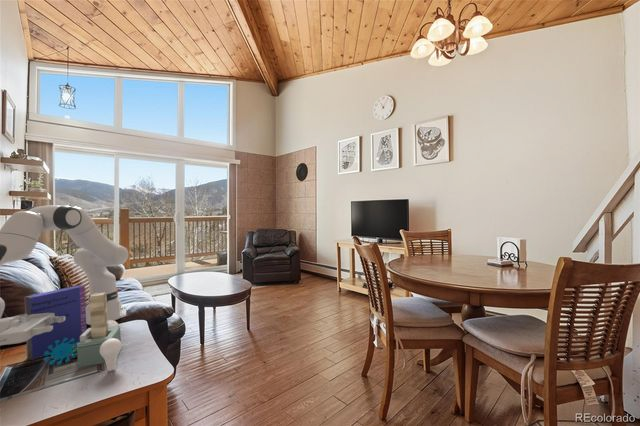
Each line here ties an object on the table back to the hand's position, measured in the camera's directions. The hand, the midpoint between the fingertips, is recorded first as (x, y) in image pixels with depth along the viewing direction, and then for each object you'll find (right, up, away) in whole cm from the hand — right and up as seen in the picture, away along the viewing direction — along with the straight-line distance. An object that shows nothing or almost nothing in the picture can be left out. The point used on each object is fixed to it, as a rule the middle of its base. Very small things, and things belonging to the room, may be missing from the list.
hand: (58, 323), depth 102 cm
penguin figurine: (+7, -15, +17) cm, 24 cm away
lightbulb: (+24, -14, -6) cm, 28 cm away
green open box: (+12, -15, +5) cm, 19 cm away
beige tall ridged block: (+12, -15, +5) cm, 19 cm away
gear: (0, -16, +3) cm, 16 cm away
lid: (+11, -8, +5) cm, 15 cm away
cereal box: (-12, -16, +13) cm, 24 cm away
